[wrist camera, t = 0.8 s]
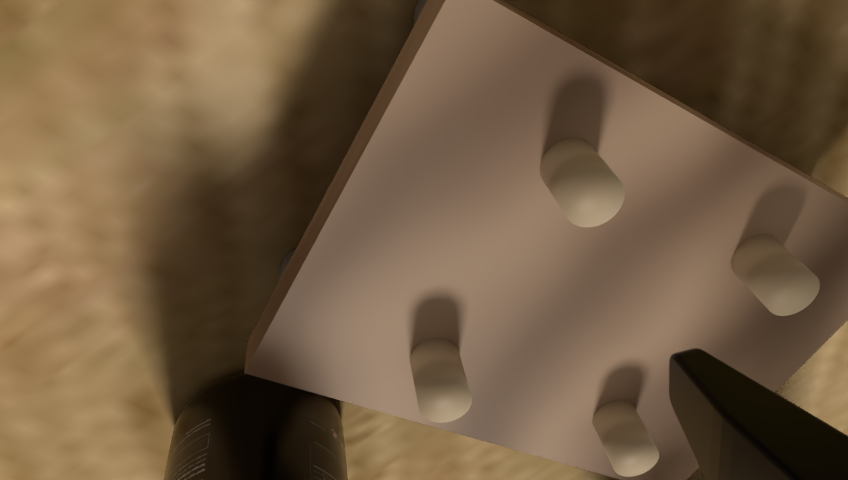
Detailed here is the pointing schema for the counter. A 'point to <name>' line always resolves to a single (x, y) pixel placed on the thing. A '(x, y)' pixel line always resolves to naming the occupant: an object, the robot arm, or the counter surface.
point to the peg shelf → (548, 252)
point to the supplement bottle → (257, 434)
